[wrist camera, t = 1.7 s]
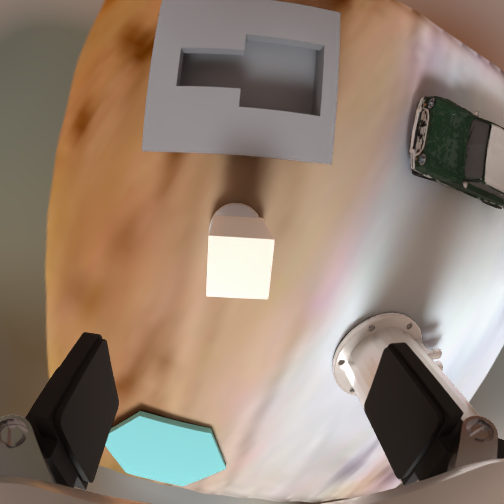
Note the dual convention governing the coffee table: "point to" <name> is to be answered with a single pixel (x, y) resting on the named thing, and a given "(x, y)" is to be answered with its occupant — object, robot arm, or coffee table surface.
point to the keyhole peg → (239, 253)
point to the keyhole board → (244, 80)
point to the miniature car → (459, 150)
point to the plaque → (165, 449)
